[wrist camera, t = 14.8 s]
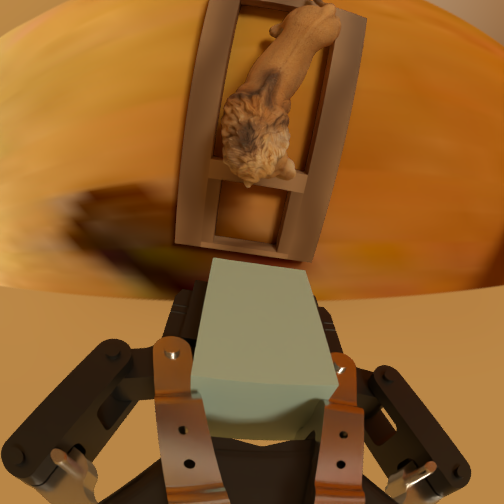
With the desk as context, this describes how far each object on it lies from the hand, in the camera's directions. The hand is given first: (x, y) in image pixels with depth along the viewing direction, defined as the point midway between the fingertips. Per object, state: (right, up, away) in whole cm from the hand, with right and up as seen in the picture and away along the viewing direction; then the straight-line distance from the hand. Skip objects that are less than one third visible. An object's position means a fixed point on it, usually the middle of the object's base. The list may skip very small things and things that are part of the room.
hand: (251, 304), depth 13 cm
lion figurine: (+2, +16, +5) cm, 17 cm away
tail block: (0, 0, 0) cm, 0 cm away
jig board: (+1, +13, +7) cm, 15 cm away
